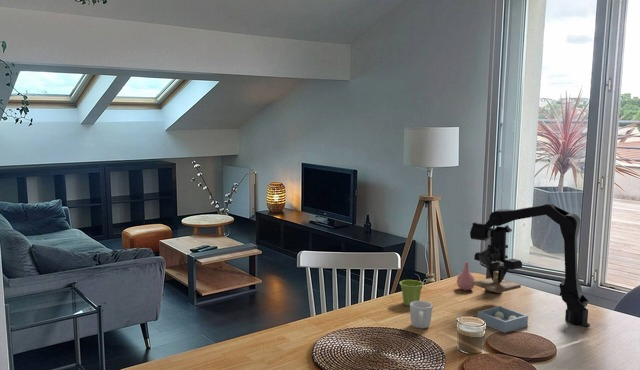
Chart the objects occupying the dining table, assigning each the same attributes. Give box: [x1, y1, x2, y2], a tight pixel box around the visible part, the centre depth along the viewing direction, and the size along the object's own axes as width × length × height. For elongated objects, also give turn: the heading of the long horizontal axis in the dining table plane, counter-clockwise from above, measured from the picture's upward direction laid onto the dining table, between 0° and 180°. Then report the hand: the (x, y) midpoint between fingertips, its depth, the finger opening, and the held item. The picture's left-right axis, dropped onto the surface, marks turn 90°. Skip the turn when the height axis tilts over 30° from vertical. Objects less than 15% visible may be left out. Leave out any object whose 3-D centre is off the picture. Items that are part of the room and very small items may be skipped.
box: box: [477, 305, 529, 333], centre depth 188 cm, size 12×12×4 cm
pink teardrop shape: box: [456, 262, 476, 291], centre depth 230 cm, size 8×8×12 cm
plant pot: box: [399, 279, 424, 307], centre depth 212 cm, size 9×9×9 cm
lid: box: [473, 271, 522, 294], centre depth 206 cm, size 13×13×6 cm
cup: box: [409, 300, 433, 329], centre depth 187 cm, size 11×8×8 cm
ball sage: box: [495, 312, 504, 320], centre depth 192 cm, size 3×3×3 cm
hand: (496, 281), depth 206 cm, fingers closed on lid, 3 cm apart
